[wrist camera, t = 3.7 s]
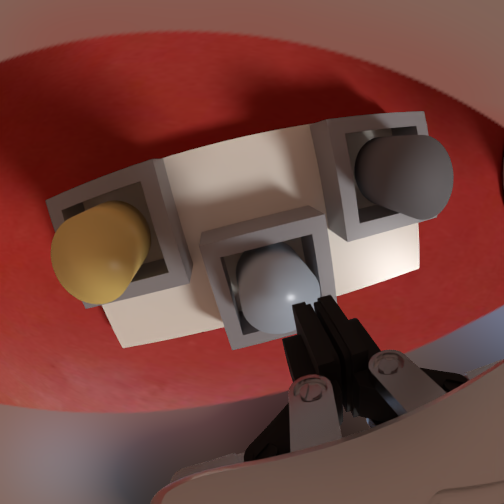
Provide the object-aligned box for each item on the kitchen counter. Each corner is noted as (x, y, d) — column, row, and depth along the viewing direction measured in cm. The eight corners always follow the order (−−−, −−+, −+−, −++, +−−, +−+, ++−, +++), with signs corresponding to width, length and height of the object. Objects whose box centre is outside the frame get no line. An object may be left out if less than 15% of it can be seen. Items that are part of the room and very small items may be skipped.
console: (389, 116, 19) (429, 110, 14) (406, 260, 23) (441, 282, 18) (74, 191, 18) (38, 202, 13) (128, 334, 22) (112, 372, 17)
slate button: (294, 232, 18) (314, 252, 15) (305, 291, 20) (324, 321, 16) (228, 249, 18) (231, 274, 14) (244, 307, 20) (251, 342, 16)
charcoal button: (405, 133, 15) (448, 132, 12) (414, 198, 17) (455, 211, 13) (348, 140, 15) (385, 138, 11) (359, 211, 16) (396, 228, 13)
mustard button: (138, 190, 15) (113, 201, 11) (160, 262, 16) (145, 293, 12) (74, 213, 15) (39, 230, 11) (98, 279, 16) (72, 311, 12)
